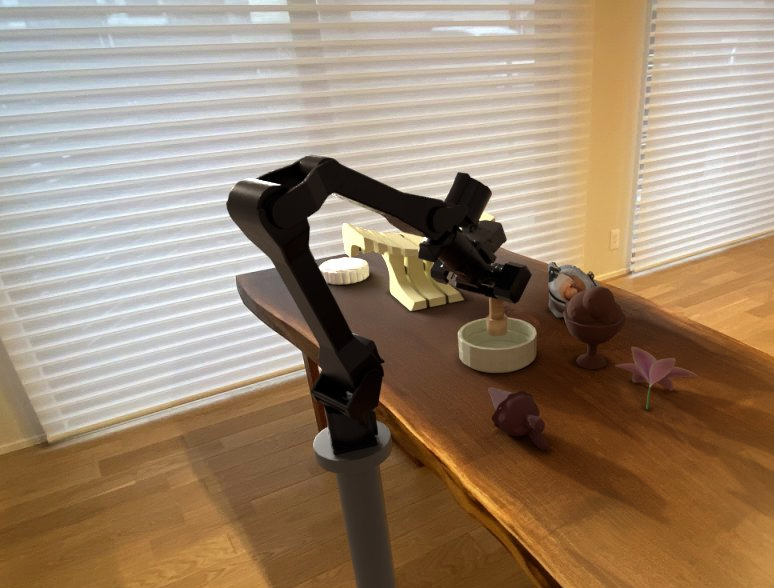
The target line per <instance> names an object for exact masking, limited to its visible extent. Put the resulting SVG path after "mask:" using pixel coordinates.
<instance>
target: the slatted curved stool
mask: <svg viewBox="0 0 774 588" xmlns="http://www.w3.org/2000/svg"><path fill="white" fill-rule="evenodd" d="M479 220H480V221H482V220H489V221H494V222H496V216H494V215H492V214H490V213H488V212H485V211H483V213H482V215H481V217H480V219H479ZM341 228H342V229H341V232H342V241H343V245H344V246H343V247H344V253H345V254H346V255H347V256H348V257H351V258H355V257H356V256H360V253H362V255H365V254H371V253H373V252H374V253H376V254H379V255H381V256H382V258H383V260H384V262H385V264H386V267H387V269H388V274H389V292H390V294H391V295H392V296H393V297H394V298H395V299H396V300H398V302H399V303H400V304H402V305H403V306H404V307H405V308H407V309H408V310H409V311H410V312H413V311H419V310H423V309H427V307H430V308H432V307H437V306H442V305H446V304H447V303H448V304H452V303H455V302H456V303H457V302H461V301H465V298H464V297H463V296H462V294H461V292H459V291H458V290H456V289H455V287H453V286H452V285H450V284H449V283H448V284H447V285H446V284H443V283H439V282H436V281H435V280H434V279H433V278H432V277H431V274H430V269H431V267H432V265H433V262H429V261H425V260H421V259H419V258H418V251H419V243H422V242H423V240H424V237H420V236H416V235H412V234H407V233H404V232H402V231H400V232H399V233H398V232H384V231H381V232H378V231H377V230H374V229H373V230H372V229H368V230H367V229H365V228H364V227H360V226H357V225H356V226H354V225H353V224H351V223H348V222H343V224H342V227H341ZM459 228H460V227H459ZM460 229H461V230H462V228H460Z"/></svg>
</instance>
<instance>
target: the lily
mask: <svg viewBox="0 0 774 588" xmlns="http://www.w3.org/2000/svg"><path fill="white" fill-rule="evenodd" d="M630 352H631V355H632V359H633V362H634V363H619V364H615V365H614V366H615V368H619V369H622V370H625V371H628V372H632V376H631V382H632V383H642V382H646V383H648V384H649V386H648V390H647V399H646V407H645V409H646V410H649V406H650V404H649V403H650V395H651V389H652V386H653V385H654V384H658V385H660V386H662V387H663V388H665V389H667V390H669V391H671V392H672V391H673V390H674V384H673V383H674V382H673V381H672V380H673V379H677V378H697V377H699V375H698V374H697V373H695V372H693V371H691V370H689V369H686V368H683V367H680V366H676V365H675V364H676V362H677V360H676V358H674V357H668V358H667V357H666V358H661V359H658V360H657V359H656V357H655V356H654V355H653V354H651V353H650V352H648V351H646V350H644V349H641V348H639V347H637V346H631V347H630Z"/></svg>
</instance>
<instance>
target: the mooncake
mask: <svg viewBox="0 0 774 588" xmlns="http://www.w3.org/2000/svg"><path fill="white" fill-rule="evenodd" d="M369 266H370V265H369V262H367V260H366V259H363V258H357V257H352V258H351V257H349V256H348V257H347V256H345V257H344V256H343V257H339V258H332V259H329V260H326V261H324V262H323V263H322V264H320V265H319V268H320V270H321V272H322V274H323V276H324V278H325V280H326V282H327V284H330V285H338V286H339V285H340V286H341V285H350V284H356V283H360V282H362V281H364V280H366V279H367V278H369V276H370V267H369Z"/></svg>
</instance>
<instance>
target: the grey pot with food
mask: <svg viewBox="0 0 774 588" xmlns="http://www.w3.org/2000/svg"><path fill="white" fill-rule="evenodd" d="M547 274H548V280H547V281H548V283H547V289H548V297H549V298H548V303H547V305H548V309H549V311H550V312H551V313H552V314H553V315H554V316H555V317H556V318H557V319H562V318H564V314H563V312H564V311H565V310H567V307H568V303H569V302H570V300H571V299H572V298H573V297H574V296H575V295H576V294H578V293H579V292H583V291H588V290H590V288H591V287H594V286H601V285H600V283H598V282H597V281H596V280H595V274H594V273H593V272H592V271H591V270H590V271H587V273H585V272H584V271H583V270H582V269H581V268H579V267H577V266H576V265H572V264H563V265H561V266H558V265H557V263H556V261H551V262H549V263H547Z"/></svg>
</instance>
